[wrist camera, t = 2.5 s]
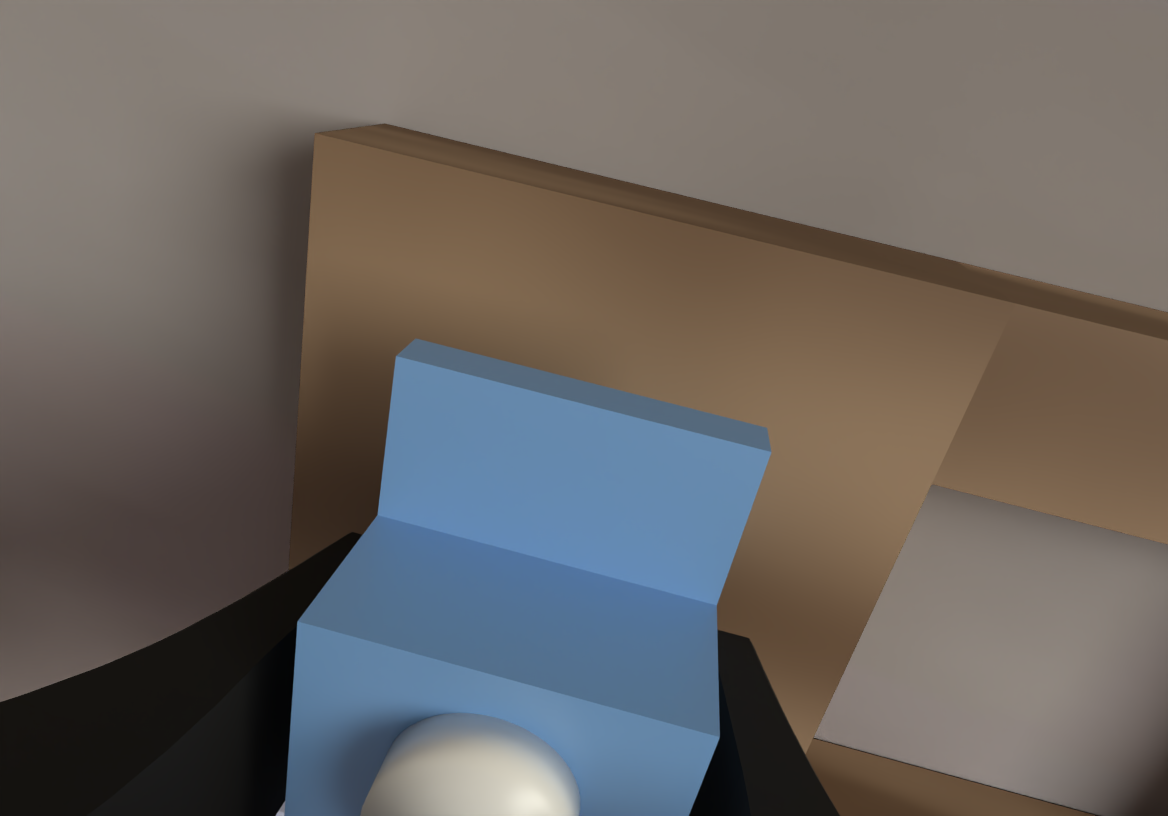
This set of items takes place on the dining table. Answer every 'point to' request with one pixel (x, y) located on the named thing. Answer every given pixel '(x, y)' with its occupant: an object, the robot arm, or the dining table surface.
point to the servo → (524, 603)
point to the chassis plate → (734, 384)
